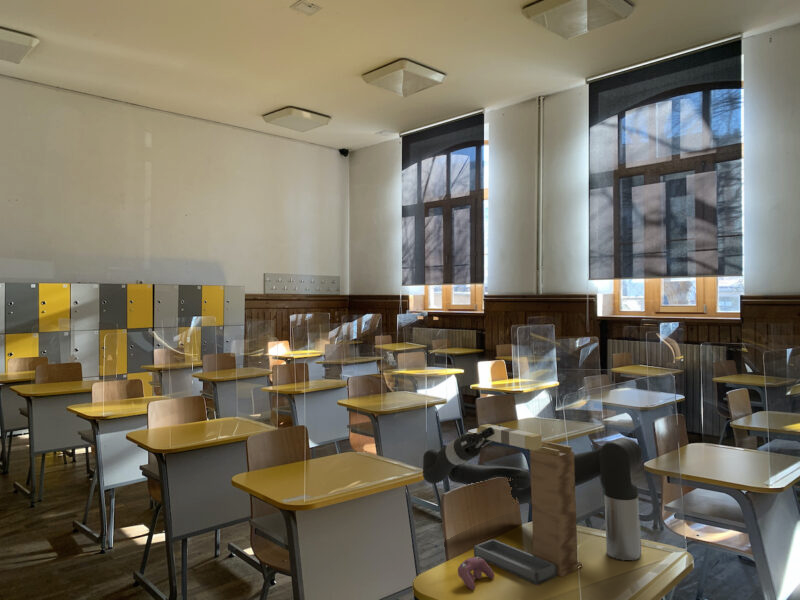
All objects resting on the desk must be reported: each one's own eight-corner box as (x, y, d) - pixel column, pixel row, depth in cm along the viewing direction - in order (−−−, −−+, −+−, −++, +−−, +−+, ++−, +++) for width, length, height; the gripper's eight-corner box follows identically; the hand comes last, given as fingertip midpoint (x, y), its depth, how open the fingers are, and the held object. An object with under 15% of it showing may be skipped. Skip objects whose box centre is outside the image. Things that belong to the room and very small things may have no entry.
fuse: (488, 435, 176) (488, 423, 176) (541, 448, 160) (541, 434, 160) (479, 437, 174) (479, 425, 174) (533, 450, 158) (532, 437, 158)
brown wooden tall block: (550, 554, 173) (546, 440, 173) (582, 566, 164) (577, 446, 165) (529, 563, 168) (525, 445, 168) (561, 576, 159) (557, 452, 159)
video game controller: (485, 580, 162) (475, 554, 164) (496, 577, 159) (486, 550, 161) (462, 593, 155) (452, 565, 157) (474, 590, 152) (463, 562, 154)
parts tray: (493, 548, 178) (492, 538, 178) (556, 575, 160) (556, 564, 160) (474, 556, 174) (473, 546, 174) (537, 585, 155) (537, 573, 155)
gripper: (441, 441, 179) (475, 420, 167) (474, 434, 188) (509, 413, 176) (450, 465, 176) (485, 445, 164) (483, 456, 185) (519, 437, 173)
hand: (497, 429), depth 170 cm, fingers closed on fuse, 3 cm apart
